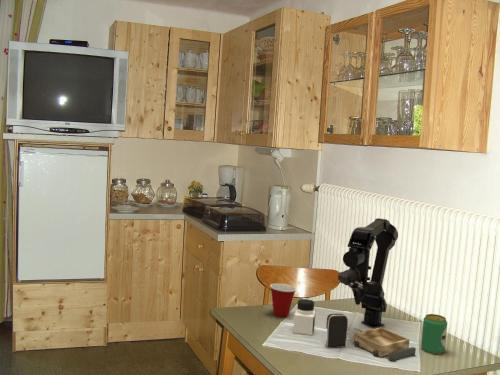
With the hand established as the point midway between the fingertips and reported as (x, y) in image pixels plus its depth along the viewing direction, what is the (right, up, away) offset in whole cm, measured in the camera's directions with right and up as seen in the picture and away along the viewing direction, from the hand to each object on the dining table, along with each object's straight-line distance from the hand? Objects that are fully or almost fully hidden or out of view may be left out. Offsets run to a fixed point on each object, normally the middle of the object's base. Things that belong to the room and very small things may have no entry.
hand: (357, 304), depth 202 cm
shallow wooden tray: (+7, -14, -8) cm, 17 cm away
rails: (+5, -13, -5) cm, 15 cm away
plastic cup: (-27, -9, +21) cm, 35 cm away
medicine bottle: (-19, -11, +4) cm, 23 cm away
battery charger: (-10, -13, -8) cm, 18 cm away
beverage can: (+25, -15, -7) cm, 30 cm away
